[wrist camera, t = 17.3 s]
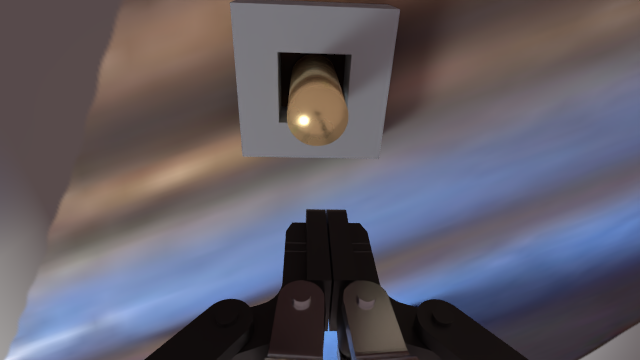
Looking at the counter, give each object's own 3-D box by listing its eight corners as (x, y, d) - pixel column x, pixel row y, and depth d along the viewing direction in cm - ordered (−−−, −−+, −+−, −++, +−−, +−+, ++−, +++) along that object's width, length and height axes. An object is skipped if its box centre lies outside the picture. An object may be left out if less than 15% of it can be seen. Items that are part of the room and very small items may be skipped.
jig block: (388, 4, 29) (400, 9, 25) (371, 139, 35) (379, 158, 31) (239, -2, 28) (229, 2, 24) (248, 137, 34) (242, 156, 31)
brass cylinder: (337, 54, 30) (351, 88, 22) (334, 99, 32) (346, 146, 24) (291, 53, 30) (286, 86, 22) (291, 98, 32) (286, 145, 24)
